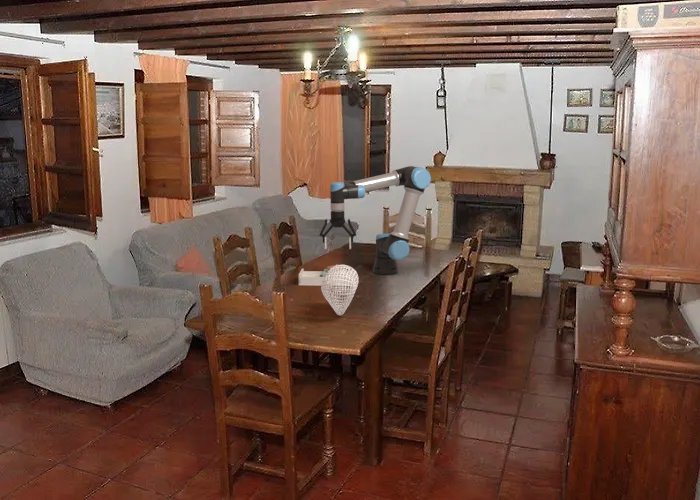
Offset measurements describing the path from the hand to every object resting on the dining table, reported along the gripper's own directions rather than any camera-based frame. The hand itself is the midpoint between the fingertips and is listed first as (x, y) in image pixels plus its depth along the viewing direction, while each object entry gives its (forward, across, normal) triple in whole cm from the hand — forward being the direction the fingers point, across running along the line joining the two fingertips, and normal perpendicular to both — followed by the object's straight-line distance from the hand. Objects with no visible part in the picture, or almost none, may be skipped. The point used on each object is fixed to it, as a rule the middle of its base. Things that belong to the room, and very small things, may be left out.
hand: (338, 248), depth 360 cm
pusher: (+18, +8, +1) cm, 19 cm away
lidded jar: (+18, +1, +2) cm, 18 cm away
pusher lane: (+19, +6, +1) cm, 20 cm away
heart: (+19, -4, +63) cm, 66 cm away
